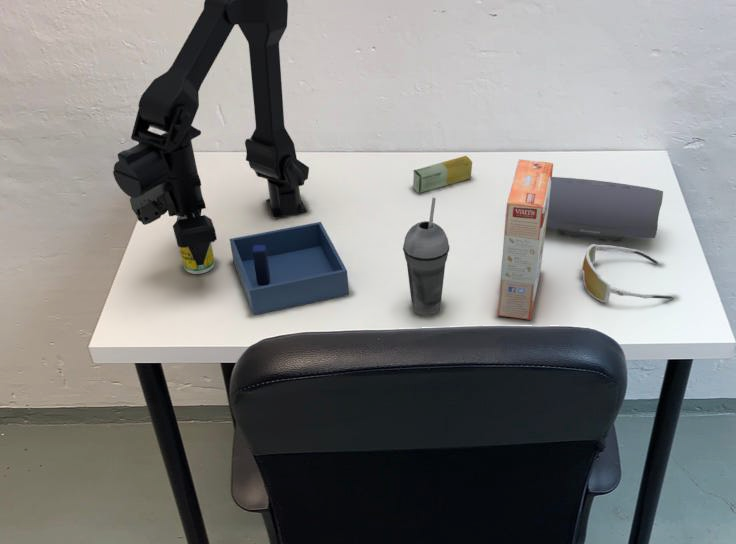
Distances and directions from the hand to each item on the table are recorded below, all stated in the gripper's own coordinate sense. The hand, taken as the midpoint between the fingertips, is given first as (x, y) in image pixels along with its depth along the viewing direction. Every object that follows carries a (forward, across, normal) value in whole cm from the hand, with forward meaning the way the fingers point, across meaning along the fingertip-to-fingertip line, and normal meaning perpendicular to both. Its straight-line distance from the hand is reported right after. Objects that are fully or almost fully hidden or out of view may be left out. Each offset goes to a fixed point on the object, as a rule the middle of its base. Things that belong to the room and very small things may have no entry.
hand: (196, 253), depth 153 cm
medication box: (+3, -12, +50) cm, 51 cm away
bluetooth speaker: (+3, +14, +69) cm, 70 cm away
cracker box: (+3, +27, +49) cm, 56 cm away
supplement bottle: (+3, 0, 0) cm, 3 cm away
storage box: (+3, +9, +14) cm, 17 cm away
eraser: (+2, +9, +10) cm, 13 cm away
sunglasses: (+3, +30, +67) cm, 73 cm away
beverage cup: (+3, +25, +33) cm, 41 cm away
